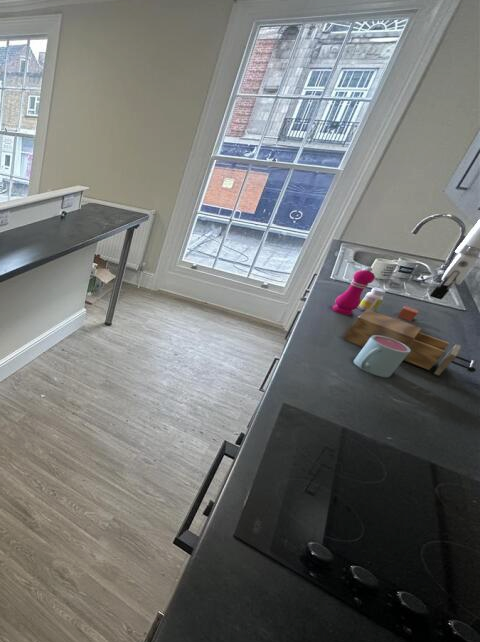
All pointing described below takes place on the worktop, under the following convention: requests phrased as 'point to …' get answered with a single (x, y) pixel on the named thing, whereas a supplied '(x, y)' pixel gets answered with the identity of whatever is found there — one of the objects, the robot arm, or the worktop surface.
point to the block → (408, 313)
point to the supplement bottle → (372, 300)
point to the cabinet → (380, 329)
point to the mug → (381, 355)
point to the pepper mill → (353, 292)
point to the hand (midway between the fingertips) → (435, 297)
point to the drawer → (434, 354)
